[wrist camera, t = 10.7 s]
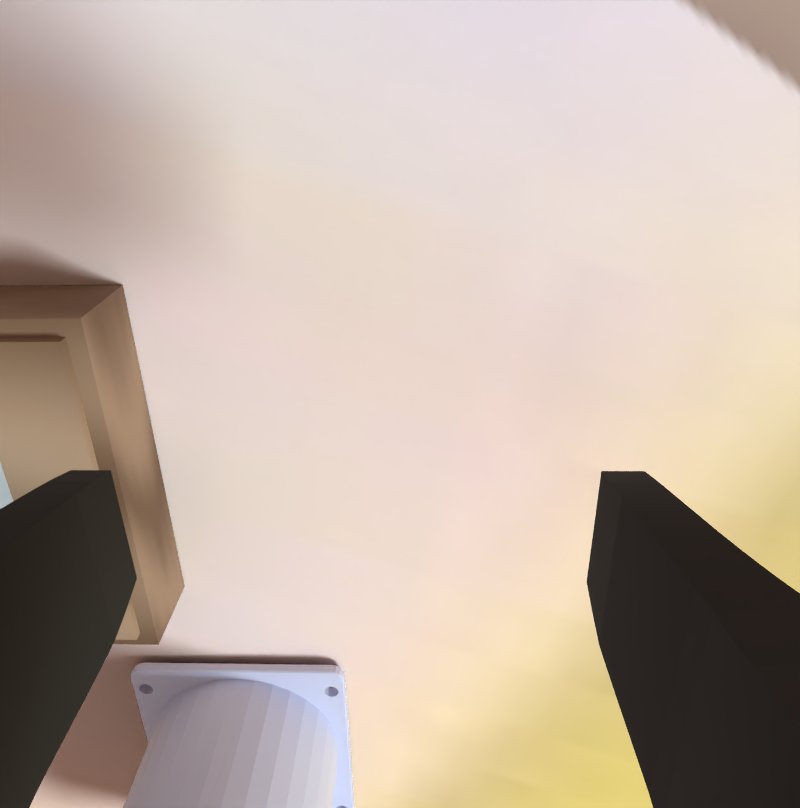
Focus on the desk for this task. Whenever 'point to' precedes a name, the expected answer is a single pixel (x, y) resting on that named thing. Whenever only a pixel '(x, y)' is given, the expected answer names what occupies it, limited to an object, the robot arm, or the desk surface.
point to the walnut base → (88, 425)
